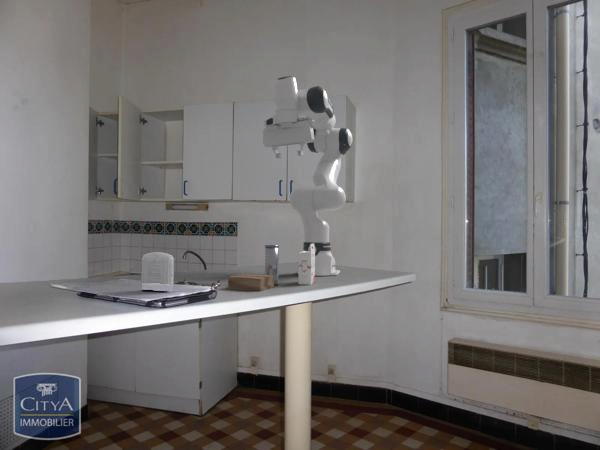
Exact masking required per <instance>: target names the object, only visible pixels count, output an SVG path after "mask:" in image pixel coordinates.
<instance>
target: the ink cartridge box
mask: <svg viewBox="0 0 600 450" xmlns="http://www.w3.org/2000/svg"><path fill="white" fill-rule="evenodd" d="M312 247H313V249H312ZM297 254H298V256H297V257H298V258H297V259H298V262H297V263H298V271H299V273H298V285H306V286H307V285H309V286H310V285H312V284H314V283H315V281H316V280H315V279H316V276H315V246H314V244H310V251H304V250H303V251H298V253H297Z"/></svg>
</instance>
